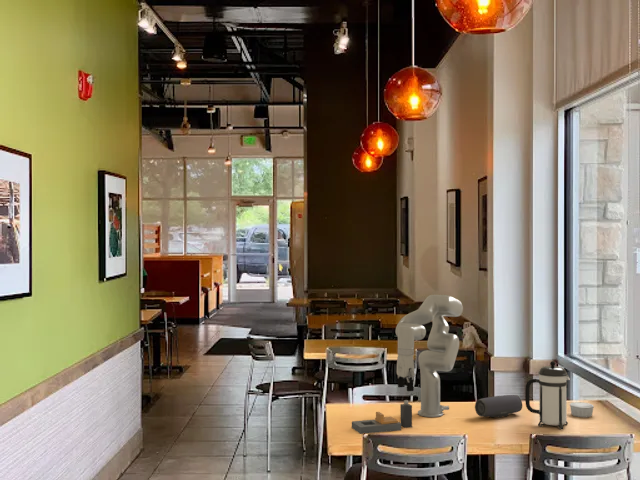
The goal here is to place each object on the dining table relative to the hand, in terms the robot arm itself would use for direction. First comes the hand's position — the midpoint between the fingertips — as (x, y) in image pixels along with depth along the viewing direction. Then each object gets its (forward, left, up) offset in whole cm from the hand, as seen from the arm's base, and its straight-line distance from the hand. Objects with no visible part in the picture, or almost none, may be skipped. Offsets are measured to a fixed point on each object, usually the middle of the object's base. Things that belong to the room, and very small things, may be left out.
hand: (405, 389), depth 332 cm
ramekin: (-91, +8, -18) cm, 93 cm away
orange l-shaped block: (+10, 0, -14) cm, 17 cm away
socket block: (+15, 0, -17) cm, 23 cm away
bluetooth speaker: (-51, -3, -18) cm, 54 cm away
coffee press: (-64, +20, -18) cm, 70 cm away
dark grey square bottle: (0, 0, -17) cm, 17 cm away
